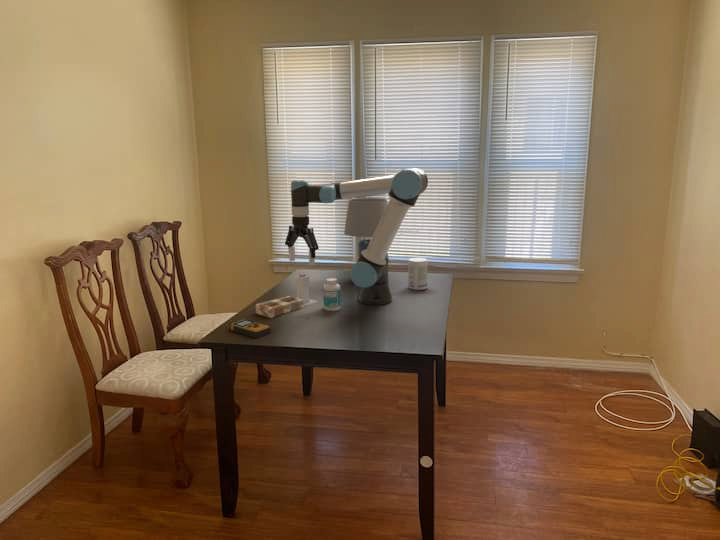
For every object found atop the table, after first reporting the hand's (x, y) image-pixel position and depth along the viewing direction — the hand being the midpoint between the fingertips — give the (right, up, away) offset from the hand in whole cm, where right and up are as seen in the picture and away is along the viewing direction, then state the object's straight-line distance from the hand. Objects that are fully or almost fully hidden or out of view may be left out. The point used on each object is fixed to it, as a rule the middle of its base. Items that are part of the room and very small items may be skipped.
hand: (301, 263), depth 233 cm
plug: (0, -18, +4) cm, 18 cm away
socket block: (-9, -21, -8) cm, 24 cm away
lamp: (+30, -9, +46) cm, 56 cm away
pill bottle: (+14, -20, -6) cm, 26 cm away
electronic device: (-16, -27, -33) cm, 46 cm away
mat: (0, -18, +4) cm, 19 cm away
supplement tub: (+55, -12, +29) cm, 63 cm away
